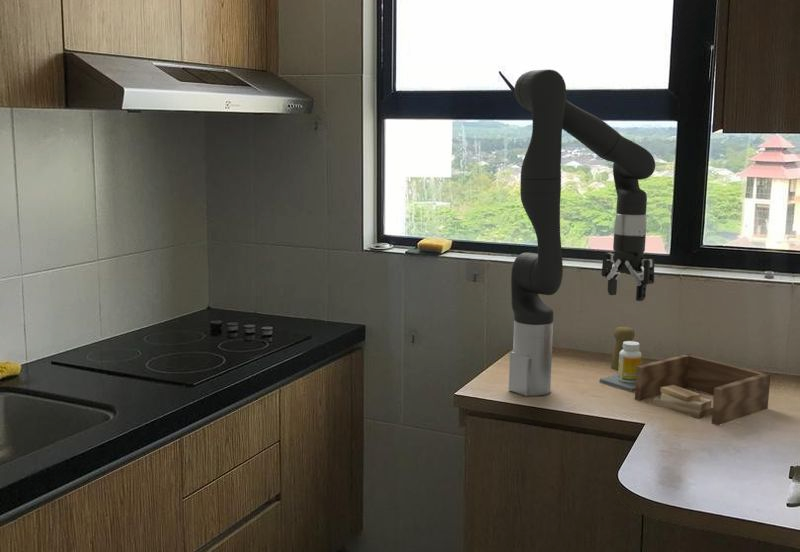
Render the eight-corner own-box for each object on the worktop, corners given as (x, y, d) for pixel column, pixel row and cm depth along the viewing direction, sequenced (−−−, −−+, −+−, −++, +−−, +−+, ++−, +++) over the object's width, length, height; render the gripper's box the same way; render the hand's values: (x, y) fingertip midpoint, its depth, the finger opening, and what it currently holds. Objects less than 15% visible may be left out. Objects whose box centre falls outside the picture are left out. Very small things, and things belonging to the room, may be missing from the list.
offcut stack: (698, 418, 194) (699, 400, 193) (652, 404, 203) (654, 387, 203) (713, 413, 197) (714, 395, 197) (668, 400, 207) (669, 382, 206)
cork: (636, 371, 230) (639, 330, 228) (613, 371, 230) (615, 329, 228) (631, 365, 236) (633, 324, 234) (608, 364, 236) (610, 324, 234)
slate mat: (631, 392, 213) (632, 388, 212) (599, 382, 220) (599, 378, 220) (657, 384, 219) (657, 381, 218) (625, 375, 226) (625, 372, 226)
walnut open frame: (717, 425, 190) (720, 389, 188) (634, 399, 207) (636, 366, 206) (767, 408, 201) (770, 374, 200) (685, 385, 219) (687, 353, 217)
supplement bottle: (613, 378, 221) (615, 341, 219) (630, 376, 223) (632, 339, 221) (627, 384, 216) (629, 346, 214) (644, 382, 218) (647, 344, 216)
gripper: (597, 230, 218) (593, 294, 221) (643, 236, 207) (639, 304, 210) (617, 228, 223) (613, 291, 226) (663, 234, 212) (659, 301, 214)
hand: (626, 297), depth 218 cm, fingers open, 8 cm apart
